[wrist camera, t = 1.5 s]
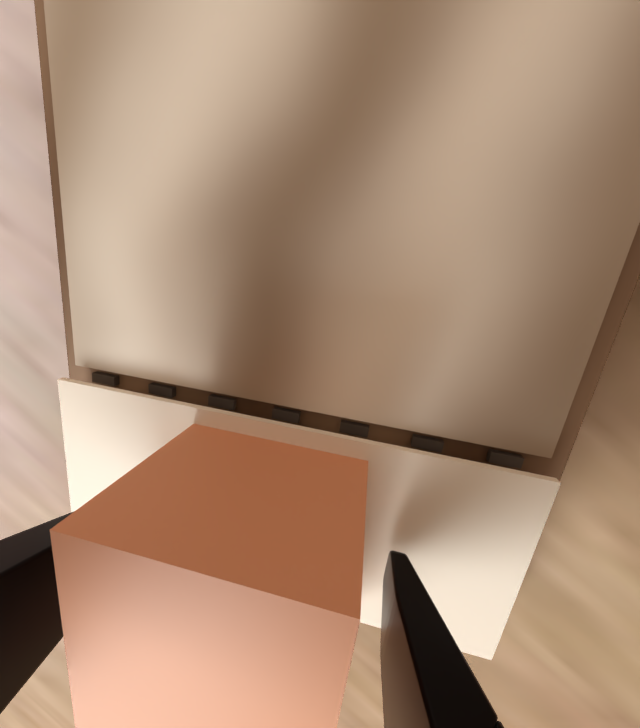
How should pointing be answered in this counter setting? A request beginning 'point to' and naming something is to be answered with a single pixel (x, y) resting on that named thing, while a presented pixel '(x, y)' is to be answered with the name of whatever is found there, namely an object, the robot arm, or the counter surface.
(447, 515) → the butter dish
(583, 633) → the counter surface
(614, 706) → the counter surface
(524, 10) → the board
